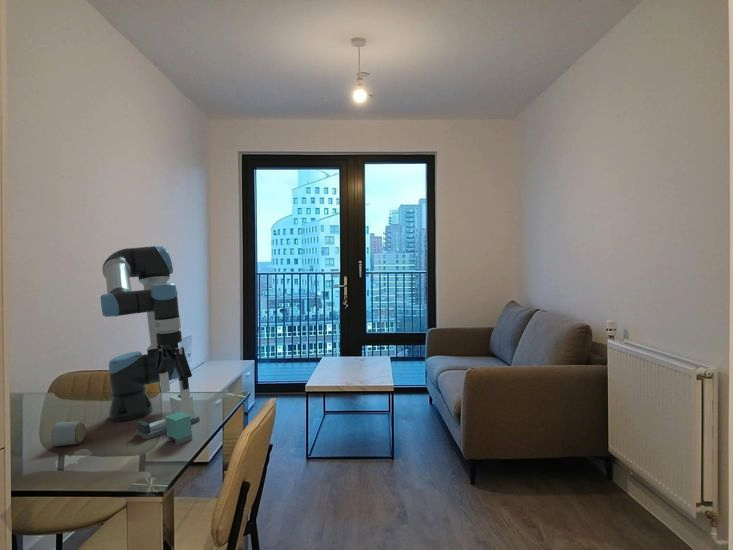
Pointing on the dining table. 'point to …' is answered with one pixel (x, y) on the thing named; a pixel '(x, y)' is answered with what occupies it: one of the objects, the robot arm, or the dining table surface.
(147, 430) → the board
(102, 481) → the dining table surface
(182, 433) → the block
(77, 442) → the ceramic mug
